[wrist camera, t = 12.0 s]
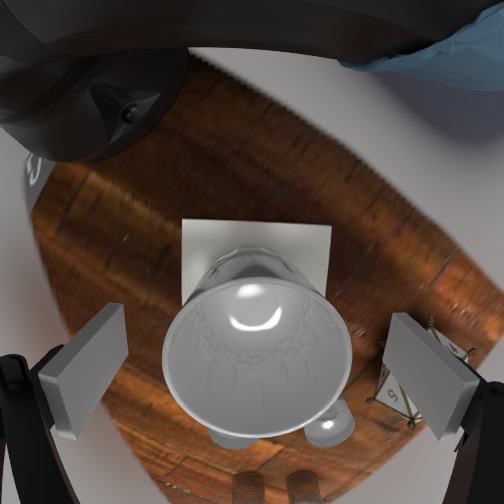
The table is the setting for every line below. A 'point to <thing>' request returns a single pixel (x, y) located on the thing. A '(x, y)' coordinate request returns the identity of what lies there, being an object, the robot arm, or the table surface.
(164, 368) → the white cup
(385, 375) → the game die
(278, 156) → the table surface
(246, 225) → the coaster
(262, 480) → the spacer posts
